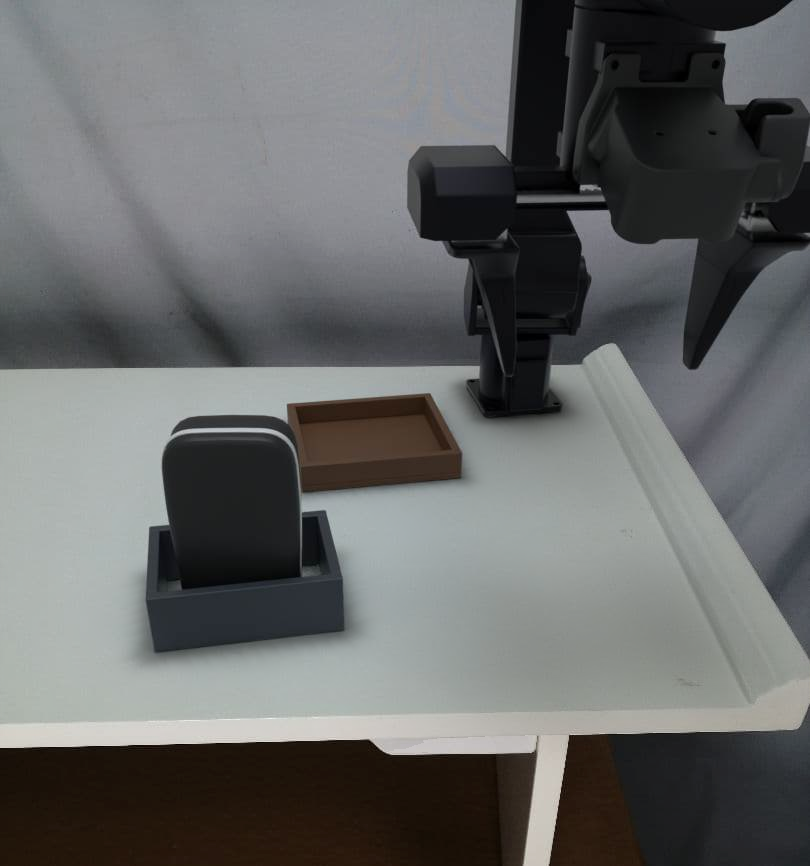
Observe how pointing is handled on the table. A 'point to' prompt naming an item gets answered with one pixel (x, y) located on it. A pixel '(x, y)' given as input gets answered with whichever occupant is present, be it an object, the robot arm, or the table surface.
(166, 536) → the dock
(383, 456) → the tray
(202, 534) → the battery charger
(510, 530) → the table surface
